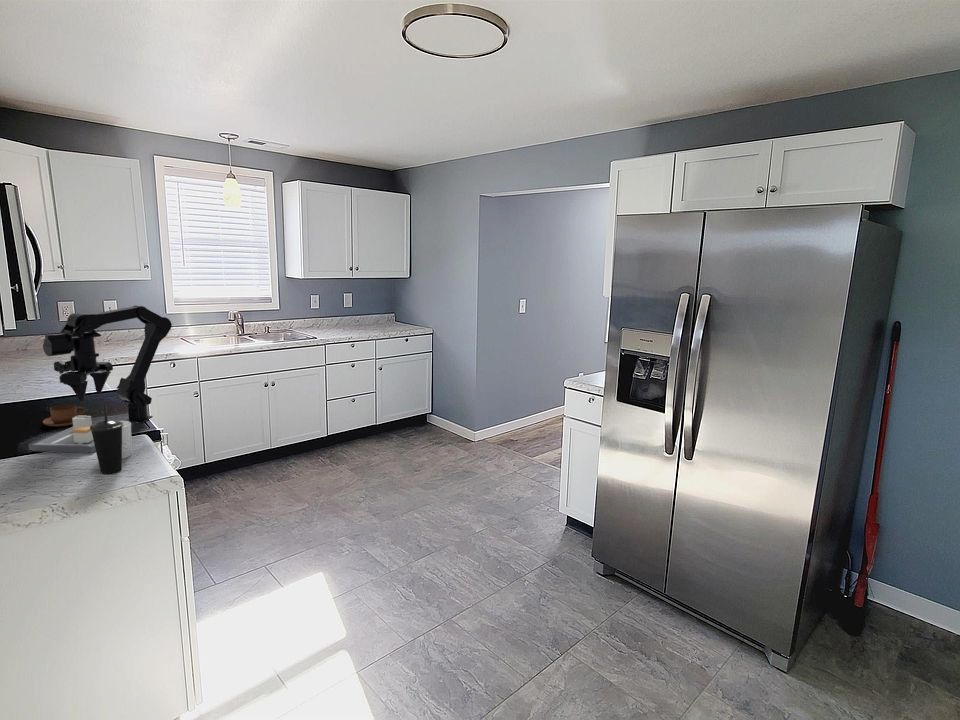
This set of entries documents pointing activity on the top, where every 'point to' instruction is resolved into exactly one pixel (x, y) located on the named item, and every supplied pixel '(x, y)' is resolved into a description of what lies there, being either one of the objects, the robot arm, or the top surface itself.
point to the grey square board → (63, 443)
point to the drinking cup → (108, 444)
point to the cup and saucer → (63, 415)
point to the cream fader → (81, 421)
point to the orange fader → (82, 435)
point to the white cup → (126, 439)
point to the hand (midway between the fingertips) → (90, 397)
